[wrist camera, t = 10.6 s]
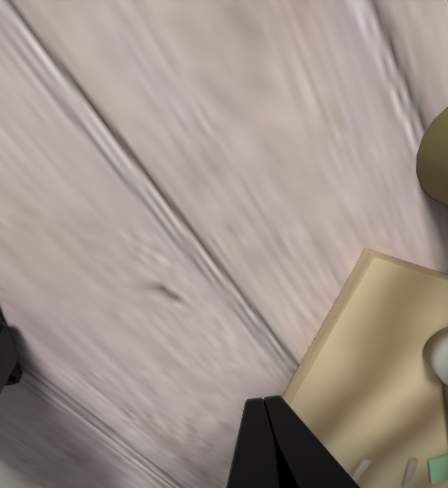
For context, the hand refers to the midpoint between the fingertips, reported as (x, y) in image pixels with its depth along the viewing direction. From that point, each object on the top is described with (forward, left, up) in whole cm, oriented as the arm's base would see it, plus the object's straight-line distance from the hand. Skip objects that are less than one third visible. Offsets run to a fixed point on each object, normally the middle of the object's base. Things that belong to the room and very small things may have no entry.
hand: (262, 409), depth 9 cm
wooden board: (+14, -16, -13) cm, 25 cm away
